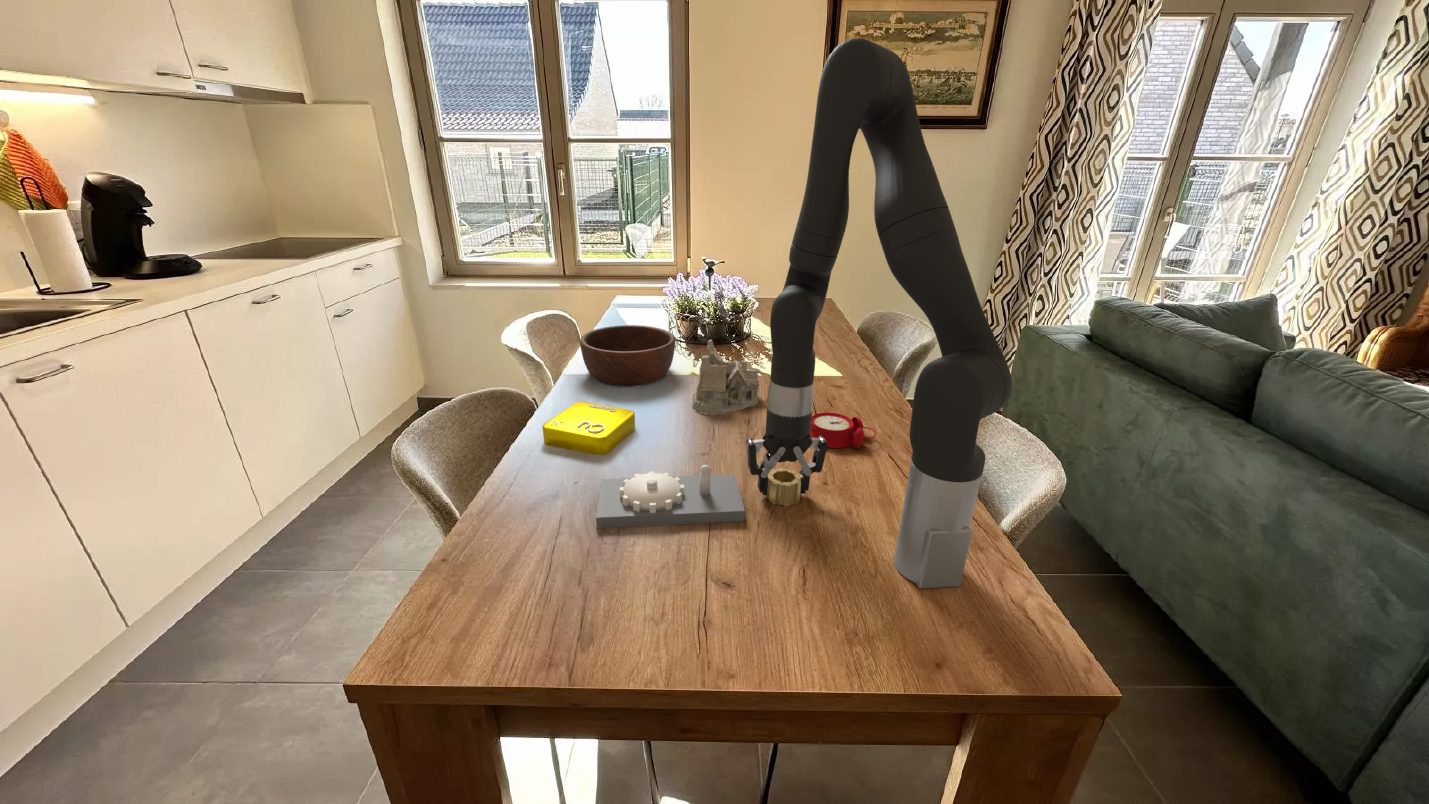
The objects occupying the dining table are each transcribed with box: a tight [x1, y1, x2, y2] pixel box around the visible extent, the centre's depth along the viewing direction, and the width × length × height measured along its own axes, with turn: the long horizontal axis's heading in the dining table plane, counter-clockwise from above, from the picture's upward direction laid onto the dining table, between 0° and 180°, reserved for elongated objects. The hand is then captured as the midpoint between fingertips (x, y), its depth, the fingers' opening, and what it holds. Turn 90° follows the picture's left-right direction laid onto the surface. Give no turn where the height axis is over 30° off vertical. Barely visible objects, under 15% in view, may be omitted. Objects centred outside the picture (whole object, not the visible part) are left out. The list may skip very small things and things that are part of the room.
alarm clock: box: [810, 412, 877, 449], centre depth 126 cm, size 10×6×15 cm
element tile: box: [542, 401, 636, 456], centre depth 125 cm, size 15×15×5 cm
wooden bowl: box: [579, 324, 676, 387], centre depth 158 cm, size 25×25×10 cm
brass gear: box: [764, 467, 802, 507], centre depth 104 cm, size 6×6×4 cm
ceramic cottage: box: [691, 339, 760, 415], centre depth 141 cm, size 16×16×15 cm
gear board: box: [595, 464, 746, 529], centre depth 100 cm, size 12×24×7 cm, turn 97°
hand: (783, 492), depth 105 cm, fingers closed on brass gear, 6 cm apart
